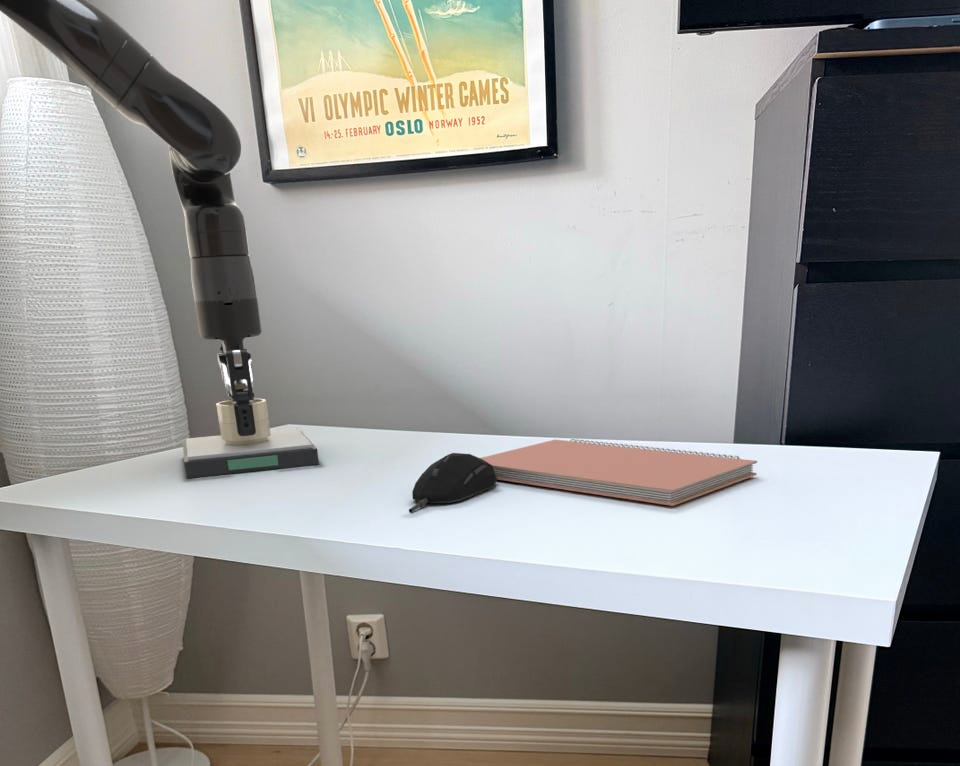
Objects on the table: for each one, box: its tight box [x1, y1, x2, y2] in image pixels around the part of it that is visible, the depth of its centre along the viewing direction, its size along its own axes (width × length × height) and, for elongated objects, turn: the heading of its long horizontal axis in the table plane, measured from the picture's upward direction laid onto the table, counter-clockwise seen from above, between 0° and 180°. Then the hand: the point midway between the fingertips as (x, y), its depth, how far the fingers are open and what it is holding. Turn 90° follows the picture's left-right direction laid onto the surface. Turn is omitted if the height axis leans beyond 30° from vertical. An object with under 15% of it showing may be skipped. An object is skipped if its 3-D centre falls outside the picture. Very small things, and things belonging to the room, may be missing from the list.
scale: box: [182, 427, 320, 479], centre depth 121 cm, size 16×16×2 cm
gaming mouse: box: [408, 452, 498, 513], centre depth 96 cm, size 6×15×4 cm, turn 152°
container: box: [215, 398, 271, 445], centre depth 119 cm, size 6×6×5 cm
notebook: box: [480, 438, 758, 507], centre depth 101 cm, size 27×17×2 cm, turn 46°
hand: (244, 430), depth 120 cm, fingers open, 8 cm apart
